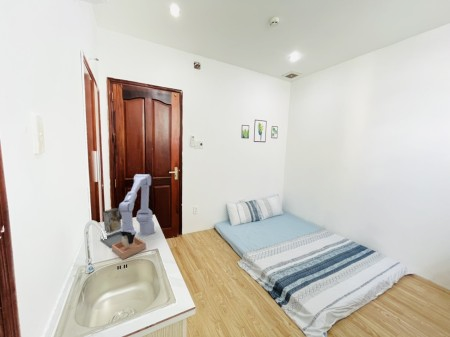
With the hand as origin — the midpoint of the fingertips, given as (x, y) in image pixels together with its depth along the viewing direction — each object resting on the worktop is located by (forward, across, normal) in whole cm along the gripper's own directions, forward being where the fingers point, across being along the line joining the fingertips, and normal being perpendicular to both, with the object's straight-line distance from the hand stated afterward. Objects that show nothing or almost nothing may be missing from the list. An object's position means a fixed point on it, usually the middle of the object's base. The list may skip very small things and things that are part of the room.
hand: (128, 242), depth 117 cm
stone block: (+1, 0, 0) cm, 1 cm away
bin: (+5, 0, 0) cm, 5 cm away
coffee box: (+5, -36, +6) cm, 37 cm away
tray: (+5, -18, 0) cm, 19 cm away
